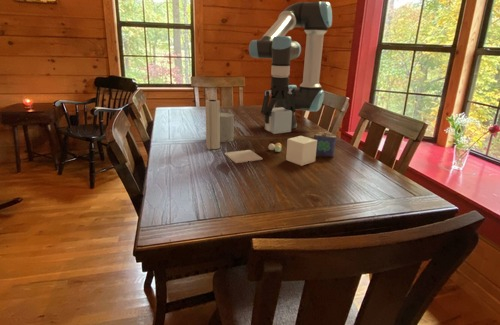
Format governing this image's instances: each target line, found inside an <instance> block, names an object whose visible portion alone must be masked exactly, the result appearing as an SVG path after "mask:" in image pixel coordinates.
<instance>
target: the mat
mask: <svg viewBox="0 0 500 325" xmlns="http://www.w3.org/2000/svg"><path fill="white" fill-rule="evenodd" d="M224 155H225V156H226V157H227V158H228V159H230V161H232V162H233V163H234V164H240V163H247V162H248V161H249V162H254V161H261V160H263V157H262V156H260V155H258V154H257V153H255V151H253V150H251V149H245V150H237V151H236V150H235V151H227V152H224Z"/></svg>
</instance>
